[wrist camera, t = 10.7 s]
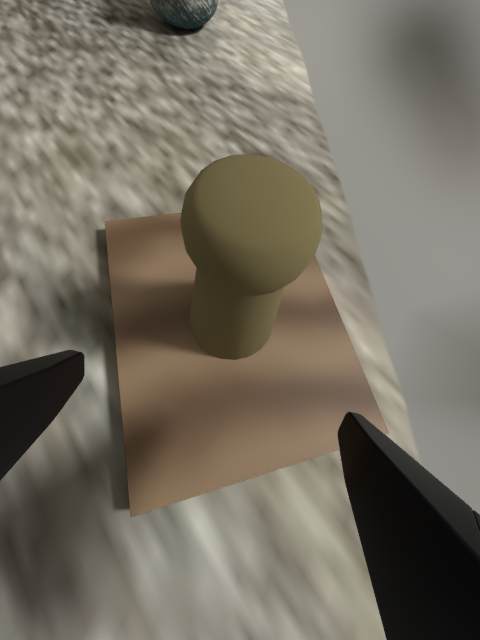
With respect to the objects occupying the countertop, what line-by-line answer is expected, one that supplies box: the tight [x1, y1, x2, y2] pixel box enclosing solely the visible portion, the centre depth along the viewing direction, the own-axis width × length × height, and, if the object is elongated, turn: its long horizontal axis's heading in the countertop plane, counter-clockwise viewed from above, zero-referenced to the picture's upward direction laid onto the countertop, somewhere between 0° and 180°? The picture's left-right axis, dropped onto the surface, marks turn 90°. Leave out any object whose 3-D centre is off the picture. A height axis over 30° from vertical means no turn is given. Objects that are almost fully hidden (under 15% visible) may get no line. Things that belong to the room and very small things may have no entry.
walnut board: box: [105, 213, 389, 517], centre depth 19 cm, size 20×16×1 cm
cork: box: [180, 154, 323, 360], centre depth 13 cm, size 6×6×11 cm
